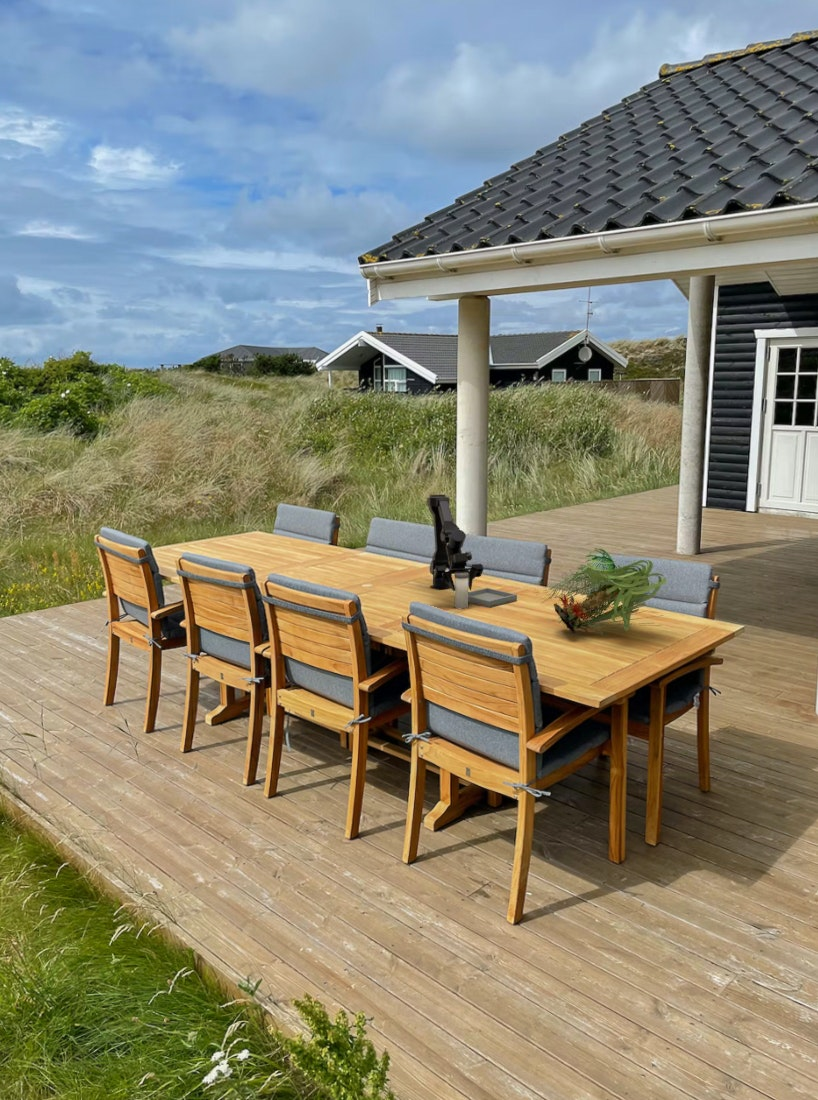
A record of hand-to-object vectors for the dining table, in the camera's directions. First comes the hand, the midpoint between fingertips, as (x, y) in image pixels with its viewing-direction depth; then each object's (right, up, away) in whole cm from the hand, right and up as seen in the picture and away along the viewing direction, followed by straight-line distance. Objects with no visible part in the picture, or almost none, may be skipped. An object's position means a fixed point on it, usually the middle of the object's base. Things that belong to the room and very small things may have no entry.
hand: (462, 590), depth 329 cm
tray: (+11, -5, +12) cm, 17 cm away
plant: (+44, -13, -28) cm, 54 cm away
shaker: (0, -7, +3) cm, 7 cm away
